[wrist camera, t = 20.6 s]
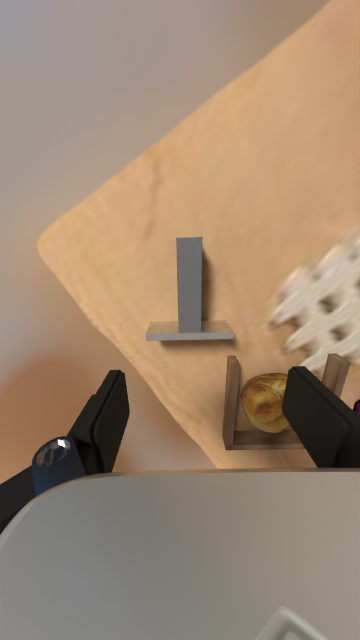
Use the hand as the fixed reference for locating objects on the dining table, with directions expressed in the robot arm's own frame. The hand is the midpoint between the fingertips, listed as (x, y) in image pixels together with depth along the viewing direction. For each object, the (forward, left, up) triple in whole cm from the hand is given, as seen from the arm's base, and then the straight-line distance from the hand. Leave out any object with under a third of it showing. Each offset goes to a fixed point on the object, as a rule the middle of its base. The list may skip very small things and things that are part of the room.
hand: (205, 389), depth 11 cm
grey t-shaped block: (0, -3, -20) cm, 21 cm away
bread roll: (-15, +17, -21) cm, 30 cm away
